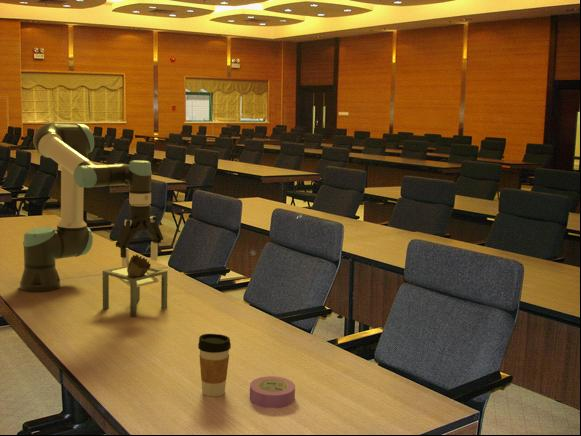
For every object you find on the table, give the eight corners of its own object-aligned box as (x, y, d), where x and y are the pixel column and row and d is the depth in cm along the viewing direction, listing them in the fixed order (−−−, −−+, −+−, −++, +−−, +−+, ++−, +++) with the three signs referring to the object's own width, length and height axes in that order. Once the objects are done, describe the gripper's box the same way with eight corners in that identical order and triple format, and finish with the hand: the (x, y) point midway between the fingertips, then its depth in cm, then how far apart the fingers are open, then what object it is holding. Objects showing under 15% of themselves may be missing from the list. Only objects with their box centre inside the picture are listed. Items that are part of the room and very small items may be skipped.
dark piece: (135, 288, 237) (145, 270, 234) (118, 276, 237) (127, 258, 235) (144, 280, 244) (154, 263, 241) (127, 269, 244) (136, 252, 242)
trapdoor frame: (102, 308, 245) (102, 270, 243) (136, 299, 258) (137, 263, 256) (133, 317, 236) (133, 278, 234) (167, 307, 249) (167, 270, 247)
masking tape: (296, 409, 170) (297, 394, 170) (250, 408, 169) (250, 394, 169) (292, 389, 182) (293, 376, 181) (249, 389, 181) (249, 376, 180)
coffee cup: (198, 385, 182) (199, 331, 179) (229, 385, 182) (231, 332, 180) (196, 398, 173) (197, 342, 171) (229, 398, 174) (231, 342, 172)
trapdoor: (110, 273, 243) (111, 270, 243) (136, 267, 253) (136, 265, 253) (132, 288, 237) (133, 285, 237) (157, 281, 247) (158, 279, 247)
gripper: (119, 209, 227) (119, 270, 231) (173, 202, 247) (172, 259, 251) (104, 206, 231) (105, 267, 235) (158, 200, 251) (158, 256, 255)
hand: (140, 263), depth 243 cm, fingers open, 13 cm apart
